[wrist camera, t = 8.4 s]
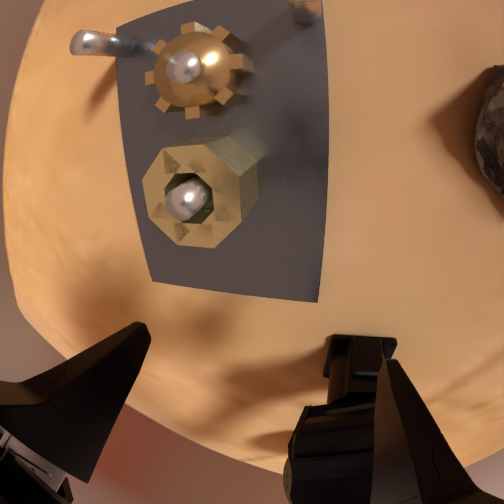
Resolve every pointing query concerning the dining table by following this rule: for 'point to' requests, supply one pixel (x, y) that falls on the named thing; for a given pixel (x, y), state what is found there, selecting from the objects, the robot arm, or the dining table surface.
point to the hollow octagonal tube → (215, 175)
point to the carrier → (230, 133)
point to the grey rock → (491, 131)
